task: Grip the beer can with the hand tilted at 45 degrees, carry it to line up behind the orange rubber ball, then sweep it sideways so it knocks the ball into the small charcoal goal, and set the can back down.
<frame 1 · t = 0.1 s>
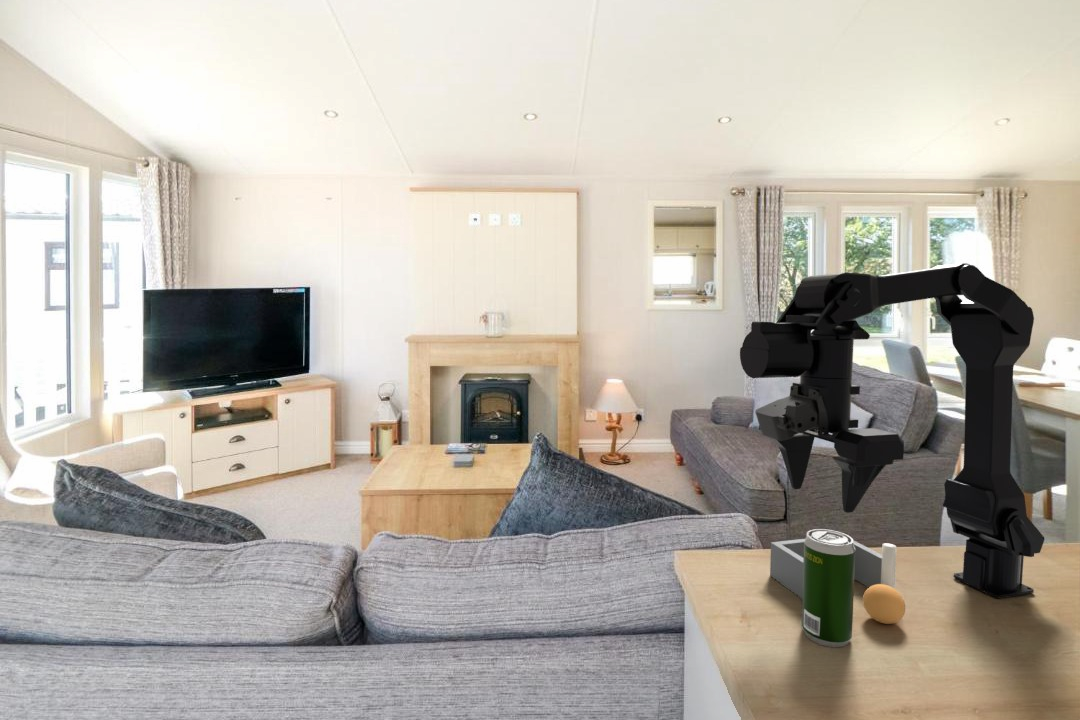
hand: (820, 499, 71), 15 cm above the table, tool pointing down, fingers open, 9 cm apart
beer can: (826, 637, 67), on the table
ball: (883, 621, 70), on the table
goal: (827, 585, 79), on the table
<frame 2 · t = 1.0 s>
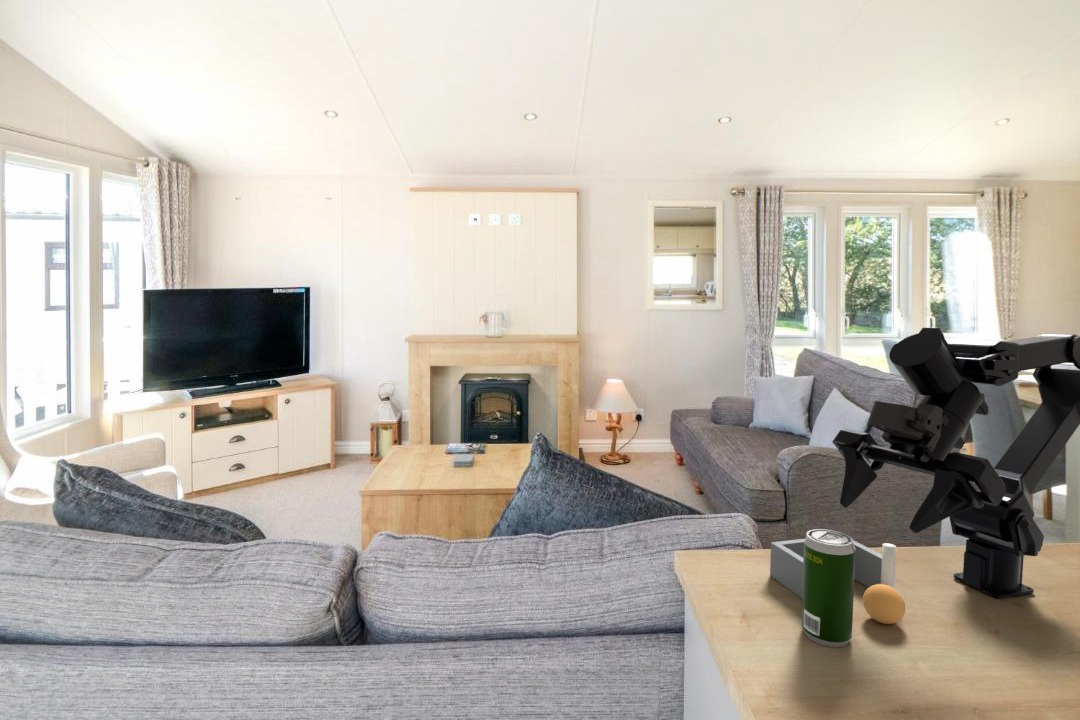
hand: (875, 517, 69), 13 cm above the table, tool tilted 45°, fingers open, 9 cm apart
nothing on the table moved.
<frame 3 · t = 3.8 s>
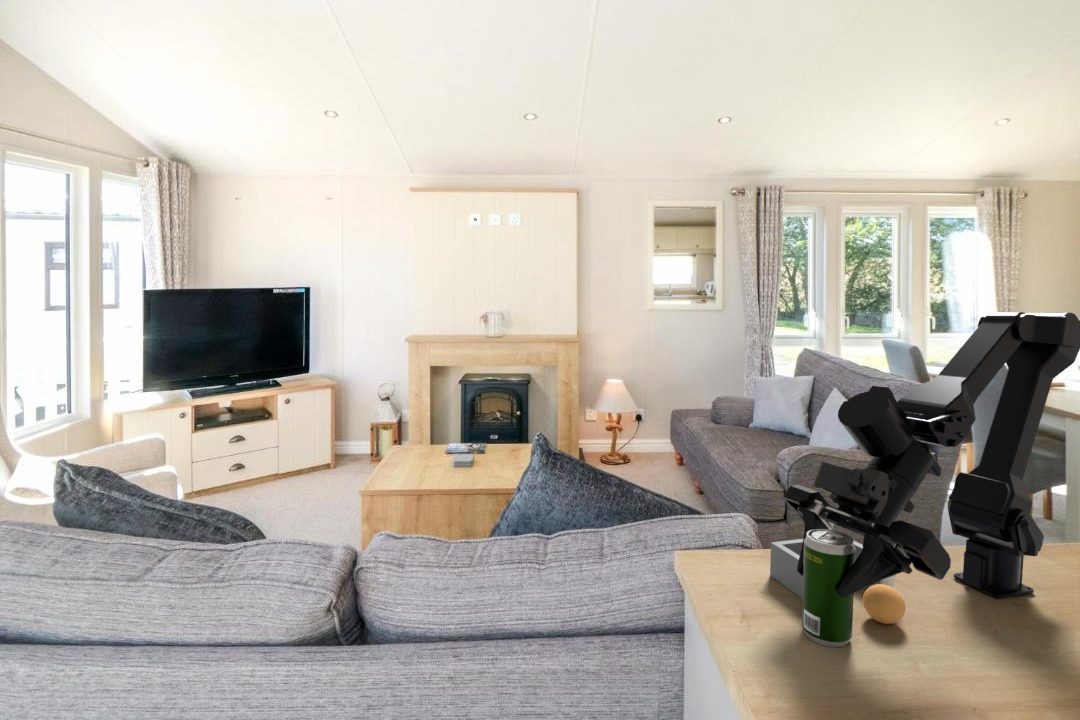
hand: (819, 583, 66), 7 cm above the table, tool tilted 45°, fingers closed on beer can, 5 cm apart
beer can: (826, 637, 67), on the table, touching gripper
everything else where it was.
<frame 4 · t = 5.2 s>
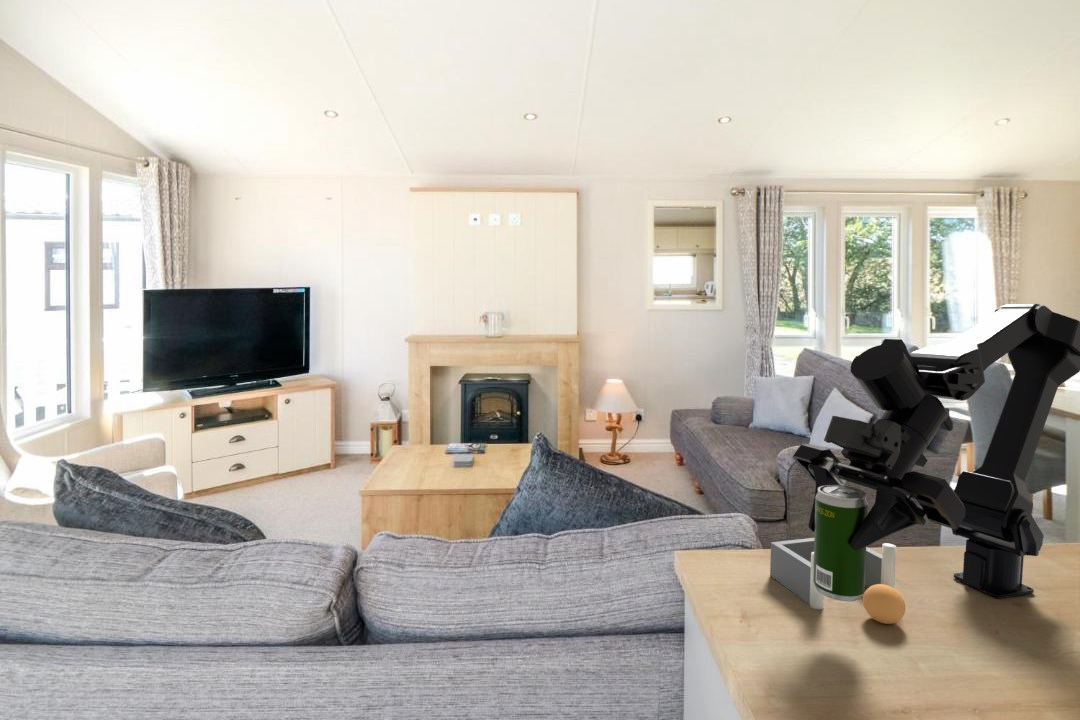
hand: (831, 538, 66), 12 cm above the table, tool tilted 45°, fingers closed on beer can, 5 cm apart
beer can: (838, 592, 67), point 5 cm above the table, touching gripper
everything else where it was.
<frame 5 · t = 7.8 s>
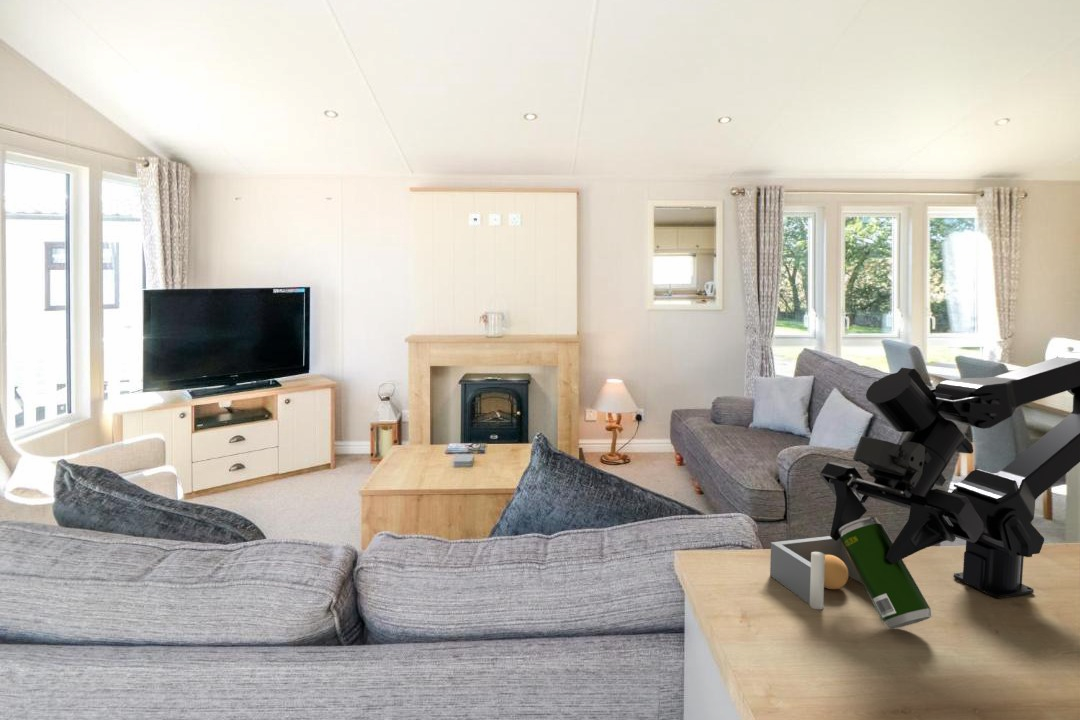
hand: (859, 549, 71), 8 cm above the table, tool tilted 45°, fingers closed on beer can, 7 cm apart
beer can: (911, 624, 66), point 2 cm above the table, touching gripper
ball: (822, 555, 80), point 4 cm above the table, tilted 136°
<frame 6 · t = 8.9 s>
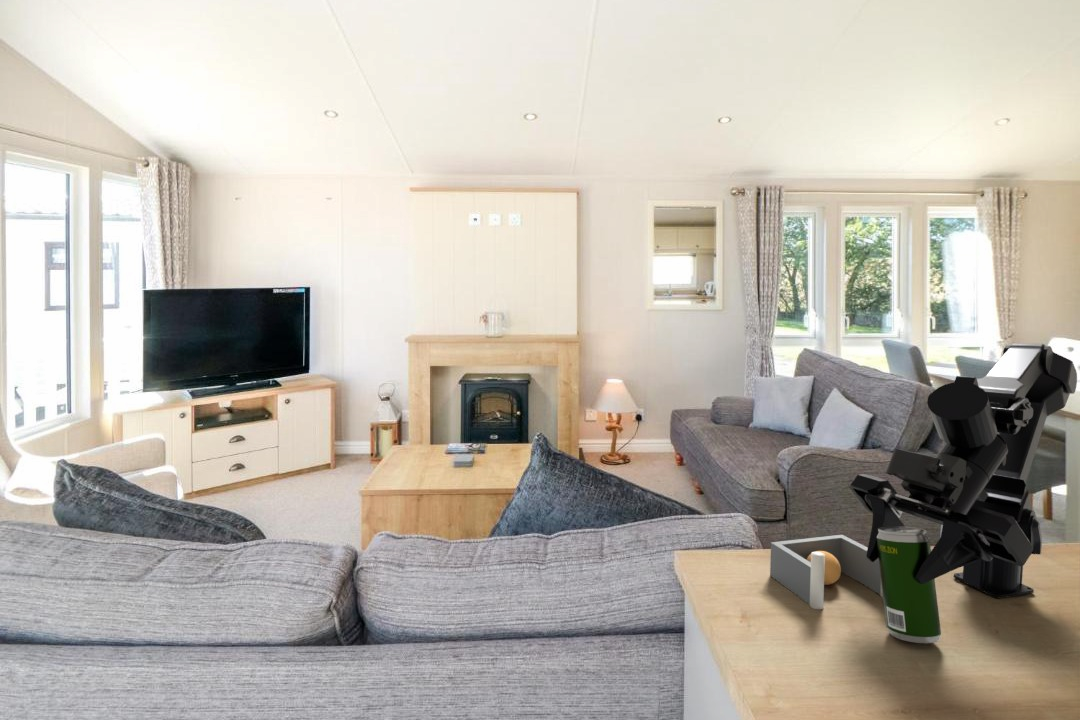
hand: (892, 570, 67), 8 cm above the table, tool tilted 45°, fingers closed on beer can, 6 cm apart
beer can: (914, 637, 66), on the table, touching gripper
ball: (811, 557, 82), point 3 cm above the table, tilted 103°
when the fingers open (8 cm above the table, at t = 9.9 s): beer can stays where it is, on the table.
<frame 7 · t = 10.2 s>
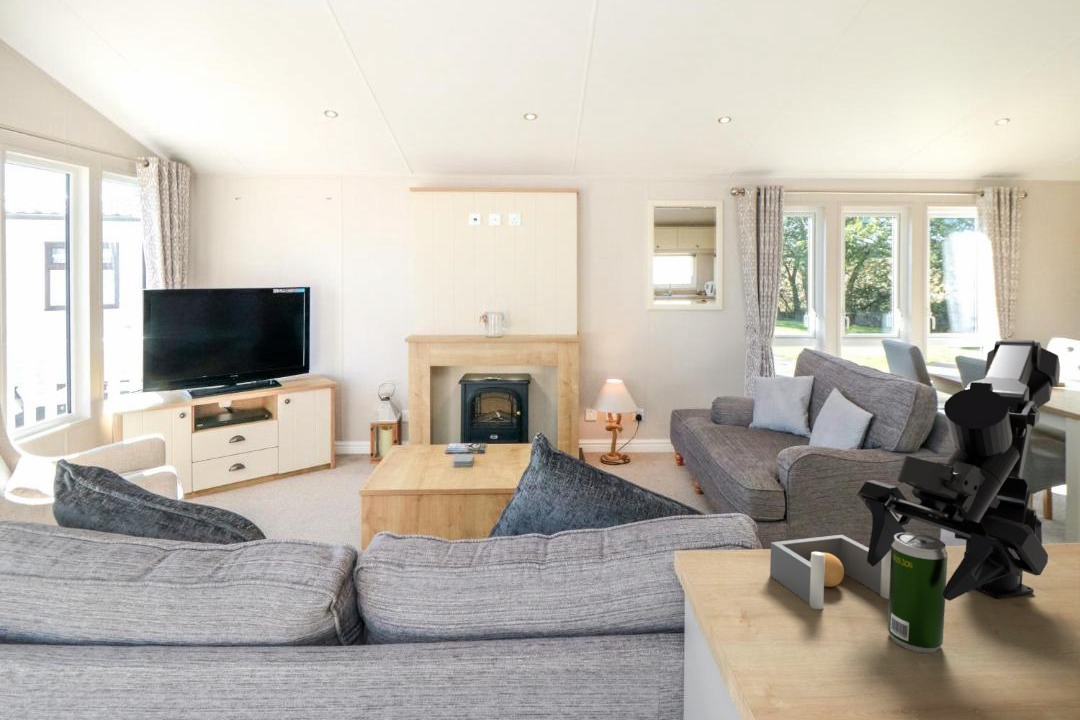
hand: (905, 580, 65), 7 cm above the table, tool tilted 45°, fingers open, 9 cm apart
beer can: (914, 642, 66), on the table
ball: (815, 556, 81), point 3 cm above the table, tilted 118°
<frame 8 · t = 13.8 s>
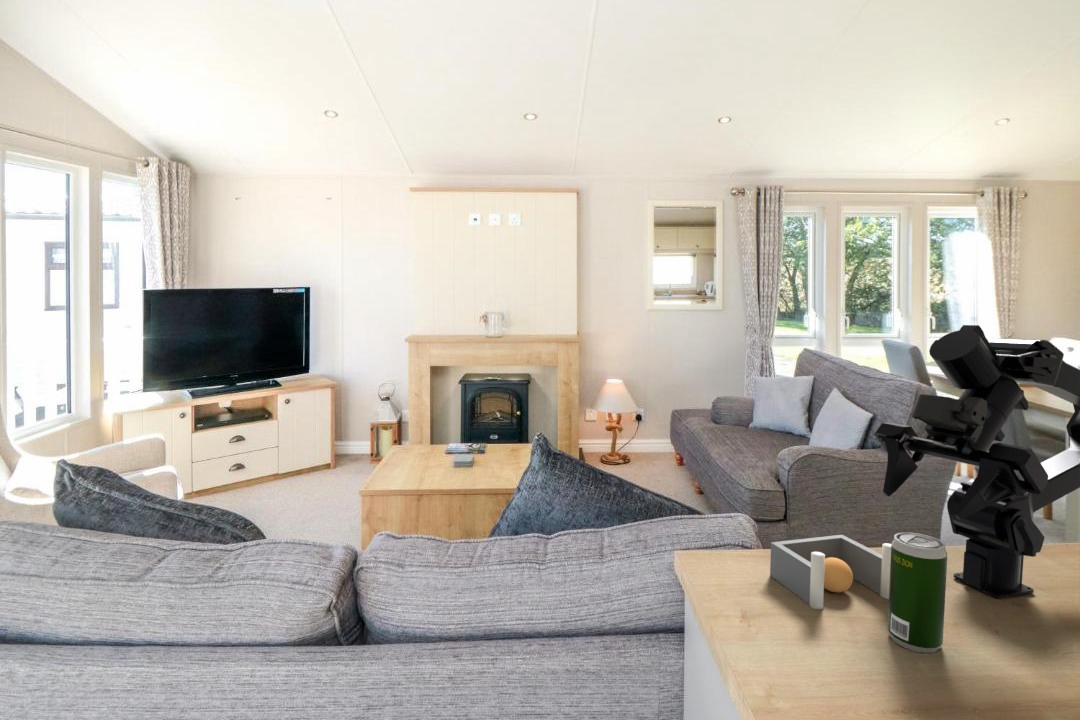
hand: (919, 504, 72), 14 cm above the table, tool tilted 45°, fingers open, 9 cm apart
ball: (830, 557, 78), point 4 cm above the table, tilted 160°
everything else where it was.
at the end: ball inside the target area (1.5 cm from its centre), point 4.4 cm above the table; beer can tilted 0°; the gripper is holding nothing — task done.
